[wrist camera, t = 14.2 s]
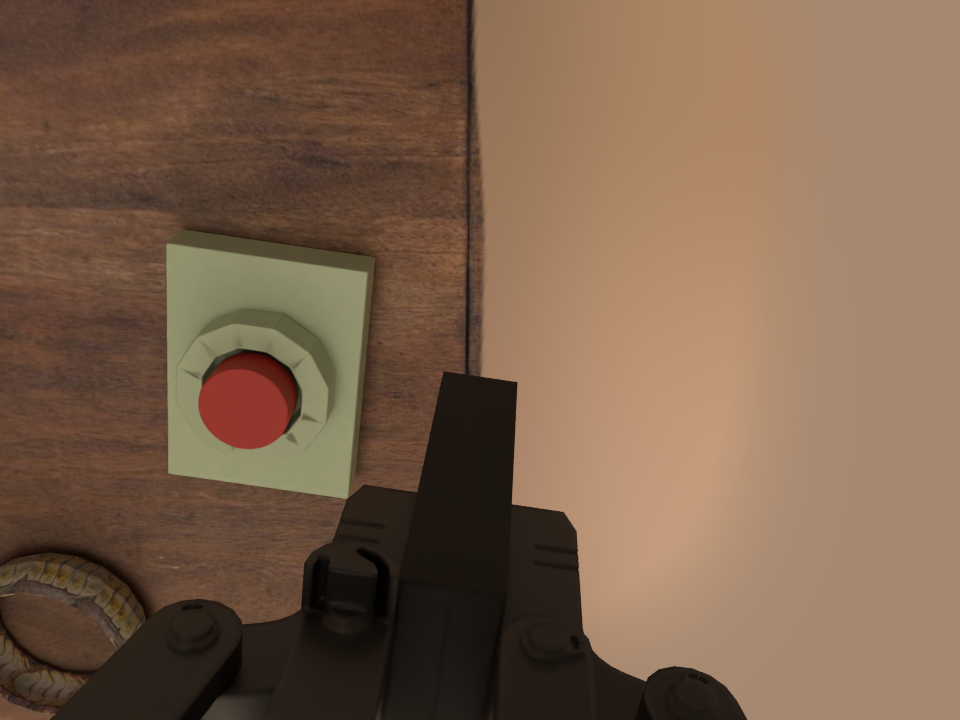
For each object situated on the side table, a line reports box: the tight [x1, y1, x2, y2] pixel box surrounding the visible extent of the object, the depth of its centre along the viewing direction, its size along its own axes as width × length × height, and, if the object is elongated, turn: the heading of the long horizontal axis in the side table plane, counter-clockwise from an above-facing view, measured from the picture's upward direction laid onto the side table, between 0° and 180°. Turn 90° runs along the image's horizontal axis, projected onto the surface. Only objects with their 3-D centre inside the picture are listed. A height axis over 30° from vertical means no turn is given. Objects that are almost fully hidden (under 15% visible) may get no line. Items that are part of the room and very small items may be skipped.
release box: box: [166, 230, 375, 499], centre depth 43 cm, size 12×9×4 cm
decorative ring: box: [0, 552, 146, 716], centre depth 51 cm, size 10×3×10 cm
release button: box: [198, 353, 297, 449], centre depth 41 cm, size 4×4×2 cm
